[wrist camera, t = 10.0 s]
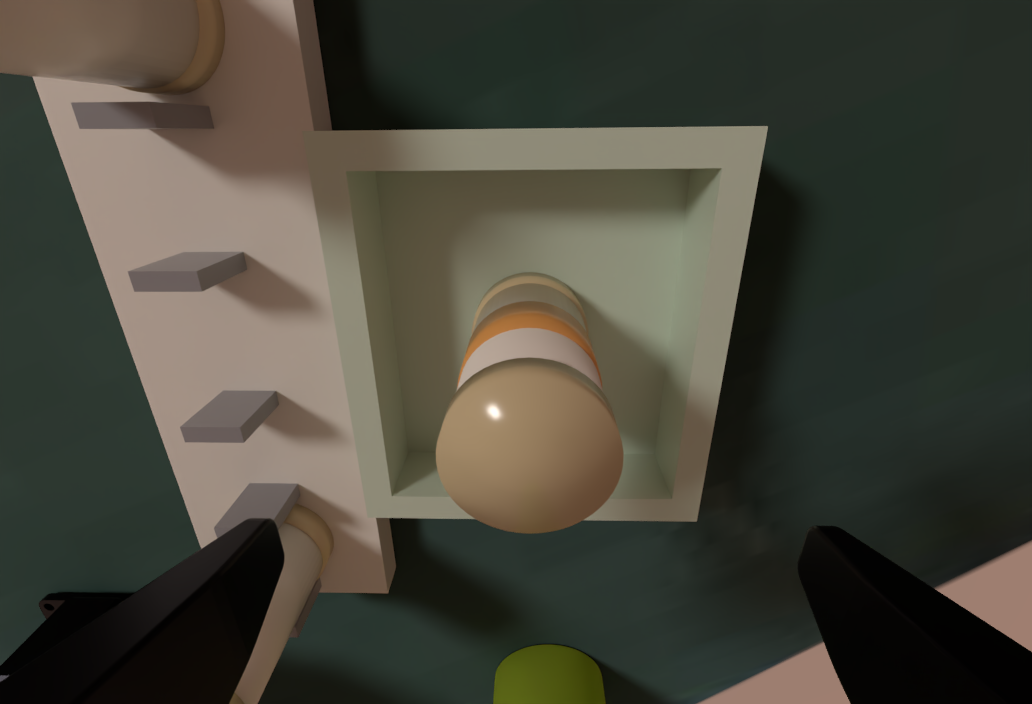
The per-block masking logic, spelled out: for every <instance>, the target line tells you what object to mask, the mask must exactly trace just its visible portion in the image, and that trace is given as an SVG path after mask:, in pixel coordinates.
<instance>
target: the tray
mask: <svg viewBox="0 0 1032 704" xmlns="http://www.w3.org/2000/svg"><path fill="white" fill-rule="evenodd" d="M767 129H768V126H735V127H639V128H543V129H447V130H351V131H302V133H303V139H304V144H305V150H306V156H307V162H308V168H309V174H310V180H311V186H312V192H313V198H314V203H315V209H316V215H317V221H318V227H319V233H320V239H321V245H322V251H323V257H324V263H325V268H326V274H327V280H328V286H329V292H330V298H331V304H332V310H333V316H334V322H335V327H336V333H337V339H338V345H339V351H340V357H341V363H342V369H343V375H344V381H345V387H346V392H347V398H348V404H349V410H350V416H351V422H352V428H353V434H354V440H355V446H356V452H357V457H358V463H359V469H360V475H361V481H362V487H363V493H364V499H365V505H366V511H367V516H368V518H439V519H475V518H473V517H472V516H470V515H469V514H467V513H466V512H465V511H464V510H463V509H461V508H460V507H459V506H458V505H457V504H456V503H455V502H454V501H453V500H452V498H451V497H450V496H449V494H448V493H447V491H446V490H445V488H444V486H443V484H442V482H441V480H440V477H439V474H438V470H437V464H436V447H437V441H438V437H439V434H440V431H441V427H442V424H443V421H444V417H445V414H446V411H447V408H448V405H449V403H450V401H451V399H452V397H453V396H454V394H455V393H456V391H457V384H458V378H459V374H460V370H461V367H462V364H463V360H464V357H465V353H466V350H467V347H468V343H469V340H470V338H471V336H472V325H473V321H474V317H475V314H476V311H477V308H478V305H479V303H480V301H481V299H482V298H483V296H484V294H485V293H486V292H487V291H488V290H489V289H490V288H491V287H492V286H493V285H494V284H495V283H497V282H498V281H500V280H502V279H504V278H506V277H508V276H511V275H514V274H518V273H524V272H536V273H542V274H546V275H550V276H552V277H554V278H557V279H559V280H560V281H562V282H563V283H565V284H566V285H567V286H568V287H569V288H571V290H572V291H573V292H574V293H575V294H576V296H577V297H578V299H579V300H580V303H581V305H582V307H583V310H584V314H585V317H586V320H587V325H588V336H589V338H590V341H591V344H592V347H593V351H594V354H595V358H596V361H597V365H598V368H599V372H600V375H601V380H602V390H603V393H604V395H605V396H606V397H607V399H608V401H609V403H610V405H611V407H612V410H613V413H614V417H615V420H616V423H617V427H618V430H619V434H620V437H621V441H622V446H623V452H624V456H623V468H622V473H621V476H620V479H619V482H618V484H617V486H616V488H615V490H614V492H613V493H612V495H611V496H610V497H609V499H608V500H607V501H606V502H605V503H604V504H603V505H602V506H601V508H599V509H598V510H597V511H596V512H594V513H593V514H592V515H590V516H589V517H587V518H586V519H584V520H608V521H693V522H697V517H698V512H699V506H700V501H701V495H702V490H703V484H704V479H705V473H706V468H707V462H708V456H709V451H710V445H711V440H712V434H713V429H714V423H715V418H716V412H717V407H718V401H719V395H720V390H721V384H722V379H723V373H724V368H725V362H726V357H727V351H728V346H729V340H730V334H731V329H732V323H733V318H734V312H735V307H736V301H737V296H738V290H739V285H740V279H741V273H742V268H743V262H744V257H745V251H746V246H747V240H748V235H749V229H750V224H751V218H752V212H753V207H754V201H755V196H756V190H757V185H758V179H759V174H760V168H761V163H762V157H763V151H764V146H765V140H766V135H767Z"/></svg>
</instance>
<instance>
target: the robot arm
mask: <svg viewBox="0 0 1032 704" xmlns="http://www.w3.org/2000/svg"><path fill="white" fill-rule="evenodd" d="M284 559H285V556H284V550H283V546H282V542H281V539H280V535H279V531H278V527H277V524H276V522H275V521H274V520H273V519H271V518H248V519H246V520H244V521H243V522H241V523H240V524H238V525H237V526H235V527H234V528H232V529H231V530H229V531H227V532H226V533H224V534H223V535H221V536H220V537H218V538H217V539H215V540H214V541H212V542H211V543H209V544H208V545H206V546H205V547H203V548H202V549H200V550H199V551H197V552H196V553H194V554H193V555H191V556H190V557H188V558H187V559H185V560H184V561H182V562H181V563H179V564H178V565H176V566H175V567H173V568H172V569H170V570H169V571H167V572H166V573H164V574H163V575H161V576H160V577H158V578H157V579H155V580H153V581H152V582H150V583H149V584H147V585H146V586H144V587H143V588H141V589H140V590H138V591H137V592H135V593H134V594H132V595H122V594H61V593H51V594H48V595H46V596H45V597H44V598H43V599H42V600H41V601H40V602H39V607H40V609H41V611H42V612H43V614H44V616H45V618H46V620H45V621H44V623H43V624H42V625H41V626H40V627H39V628H38V629H37V630H36V631H35V632H34V633H33V634H32V635H31V636H30V637H29V638H28V639H27V640H26V641H25V642H24V643H23V644H22V645H21V646H20V647H19V648H18V649H17V650H16V651H15V652H14V653H13V654H12V655H11V656H10V657H9V658H8V659H7V660H6V661H5V662H4V663H3V664H2V665H1V666H0V704H229V703H230V701H231V699H232V697H233V695H234V692H235V690H236V688H237V686H238V684H239V682H240V680H241V678H242V675H243V673H244V671H245V669H246V666H247V664H248V662H249V660H250V657H251V655H252V652H253V650H254V647H255V644H256V642H257V639H258V636H259V633H260V631H261V628H262V625H263V622H264V619H265V617H266V614H267V611H268V608H269V606H270V603H271V600H272V597H273V594H274V592H275V589H276V586H277V583H278V580H279V578H280V575H281V572H282V569H283V566H284ZM798 573H799V577H800V580H801V583H802V585H803V588H804V591H805V593H806V596H807V598H808V601H809V604H810V606H811V609H812V612H813V614H814V617H815V620H816V622H817V625H818V628H819V630H820V633H821V635H822V638H823V641H824V643H825V646H826V649H827V651H828V654H829V657H830V659H831V661H832V664H833V666H834V669H835V671H836V673H837V675H838V678H839V680H840V682H841V684H842V686H843V689H844V691H845V693H846V695H847V697H848V699H849V701H850V703H851V704H1032V652H1031V651H1029V650H1028V649H1026V648H1025V647H1023V646H1022V645H1020V644H1018V643H1017V642H1015V641H1014V640H1012V639H1011V638H1009V637H1008V636H1006V635H1005V634H1003V633H1002V632H1000V631H998V630H996V629H995V628H994V627H992V626H991V625H989V624H988V623H986V622H985V621H983V620H981V619H980V618H978V617H977V616H975V615H974V614H972V613H971V612H969V611H968V610H966V609H965V608H963V607H961V606H959V605H958V604H957V603H955V602H954V601H952V600H951V599H949V598H948V597H946V596H944V595H943V594H941V593H940V592H938V591H937V590H935V589H934V588H932V587H931V586H929V585H928V584H926V583H924V582H923V581H921V580H920V579H918V578H917V577H915V576H914V575H912V574H911V573H909V572H907V571H906V570H904V569H903V568H901V567H900V566H898V565H897V564H895V563H894V562H892V561H891V560H889V559H887V558H886V557H884V556H883V555H881V554H880V553H878V552H877V551H875V550H874V549H872V548H870V547H869V546H867V545H866V544H864V543H863V542H861V541H860V540H858V539H857V538H855V537H854V536H852V535H850V534H849V533H847V532H846V531H844V530H843V529H841V528H839V527H836V526H812V527H810V528H809V529H808V531H807V533H806V537H805V540H804V543H803V546H802V550H801V553H800V556H799V560H798Z"/></svg>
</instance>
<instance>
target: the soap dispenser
mask: <svg viewBox="0 0 1032 704" xmlns="http://www.w3.org/2000/svg"><path fill="white" fill-rule="evenodd" d="M493 704H606V702H605V694H604V687H603V679H602V674H601V671H600V669H599V667H598V665H597V664H596V663H595V662H594V661H593V660H592V659H591V658H590V657H589V656H587V655H586V654H584V653H582V652H580V651H578V650H576V649H573V648H570V647H566V646H561V645H551V644H545V645H535V646H530V647H526V648H523V649H520V650H518V651H516V652H514V653H512V654H510V655H509V656H508V657H506V658H505V659H504V660H503V661H502V662H501V664H500V665H499V667H498V668H497V671H496V674H495V685H494V700H493Z"/></svg>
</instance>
